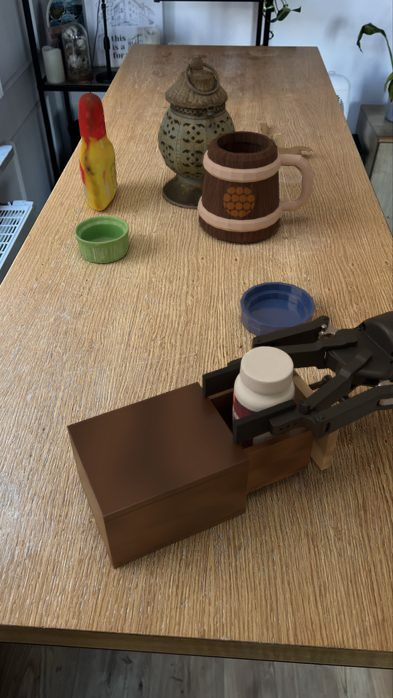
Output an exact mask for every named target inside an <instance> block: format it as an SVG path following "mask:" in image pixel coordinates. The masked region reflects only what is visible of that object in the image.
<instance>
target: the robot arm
mask: <svg viewBox="0 0 393 698" xmlns="http://www.w3.org/2000/svg"><path fill="white" fill-rule="evenodd" d="M257 347H274V348H277V349H280V350H282V351H284V352H285V353H287V354H288V355H289V356H290V358H291V359H292V362H293V369H294V370H295V369H296V370H297V369H303V368H304V369H305V368H316V369H317V370H327V369H329V370H330V371H331V372H333V373H334V374H335V375H334V376H332V377H333V378H332V379H330V380H329V381H328V382H327V383H325V384H324V385H323V386H322V387H320V388H319V389H316V390H314V391H313V392H314V393H313V394H312V395H310V396H309V397H308V398H306V399H305V400H304V399H303V402H302V398H301V399H300V403H299V407H298V408H296V403H295V402H294V400H293V399H291V400H288V401H285V402H282V403H280V404H277V405H274V406H272V407H269V408H266V409H264V410H261V411H258V412H256V413H253V414H250V415H247V416H245V417H242V418H239V419H237V420H234V421H233V440H234V442H235V443H236V444H239V443H241V442H244V441H246V440H249V439H252V438H254V437H257V436H259V435H262V434H264V433H267V432H270V433H271V435H279V434H282V433H284V432H286V431H291V430H292V429H295V428H297V427H306V428H308V429H309V430H311V431H312V434H313V436H314V437H316V438H322V437H324V436H326V435H328V434H330V433H332V432H334V431H336V430H339V431H340V429H343V428H345V427H347V426H349V425H351V424H353V423H355V422H357V421H359V420H361V419H363V418H365V417H367V416H369V415H371V414H374V413H375V412H380V411H389V410H393V310H389V311H386V312H382V313H379V314H377V315H373V316H371V317H367V318H366V319H364V320H363V321H362V322H360V323H358V325H356V326H355V327H352V328H347V327H346V328H345V327H344V328H343V327H342V328H339V329H338V328H337V327H336V326H333V325H332V324H331V323H330V317H329V315H326V314H323V315H319V316H318V317H316V318H314V320H313V321H312V322H309V323H305V324H302V325H298V326H294V327H290V328H287V329H283V330H279V331H275V332H272V333H268V334H264V335H260V336H258V335H255V336H254V337H253V338H252V339H251V349H253V348H257ZM242 358H243V356H241V357H238V358H236V359H232V360H229V362H227V363H226V366H224V367H221V368H219V369H218V368H217V369H215V370H212V371H209V372H206V373H203V374H202V375H201V377H202V378H201V379H202V380H201V381H202V384H201V387H202V393H203V395H204V396H205V398H206V397H209V396H212V395H214V394H217V393H220V392H223V391H226V390H229V389H231V388H234V384H235V380H236V378H237V376H238V375H239V374H240V368H241V360H242ZM359 387H368V389H365V390H363V391H361V392H359V393H357V394H355V395H353V396H350V394H351V393H353V392H354V391H355V390H356V389H357V388H359ZM347 395H349V396H350V397H351V398H349V399H346V400H344V401H342V402H340V403H339V402H338V400H339V399H341V398H342V397H343V396H347Z"/></svg>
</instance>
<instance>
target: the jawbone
mask: <svg viewBox="0 0 393 698" xmlns="http://www.w3.org/2000/svg"><path fill="white" fill-rule="evenodd" d="M260 127H261V130H262V133H261V134H263V135H265V136H267V137H269V138H270V139H272V140H273V139H274V135H273V134H269V133H270V132H269V131H270V130H269V125H268V123H267V122H262V123H260ZM275 144H276V146H277V150H278V152H279V154H294V155H301V156H302V155H303V154H302V153H303V152H302V151H305V152H308V153H310V152H314V150H313V148H312V147H309V146H307V145H295V146H291V147H281V146H280V147H279V146H278V144H277V143H276V142H275Z"/></svg>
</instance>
